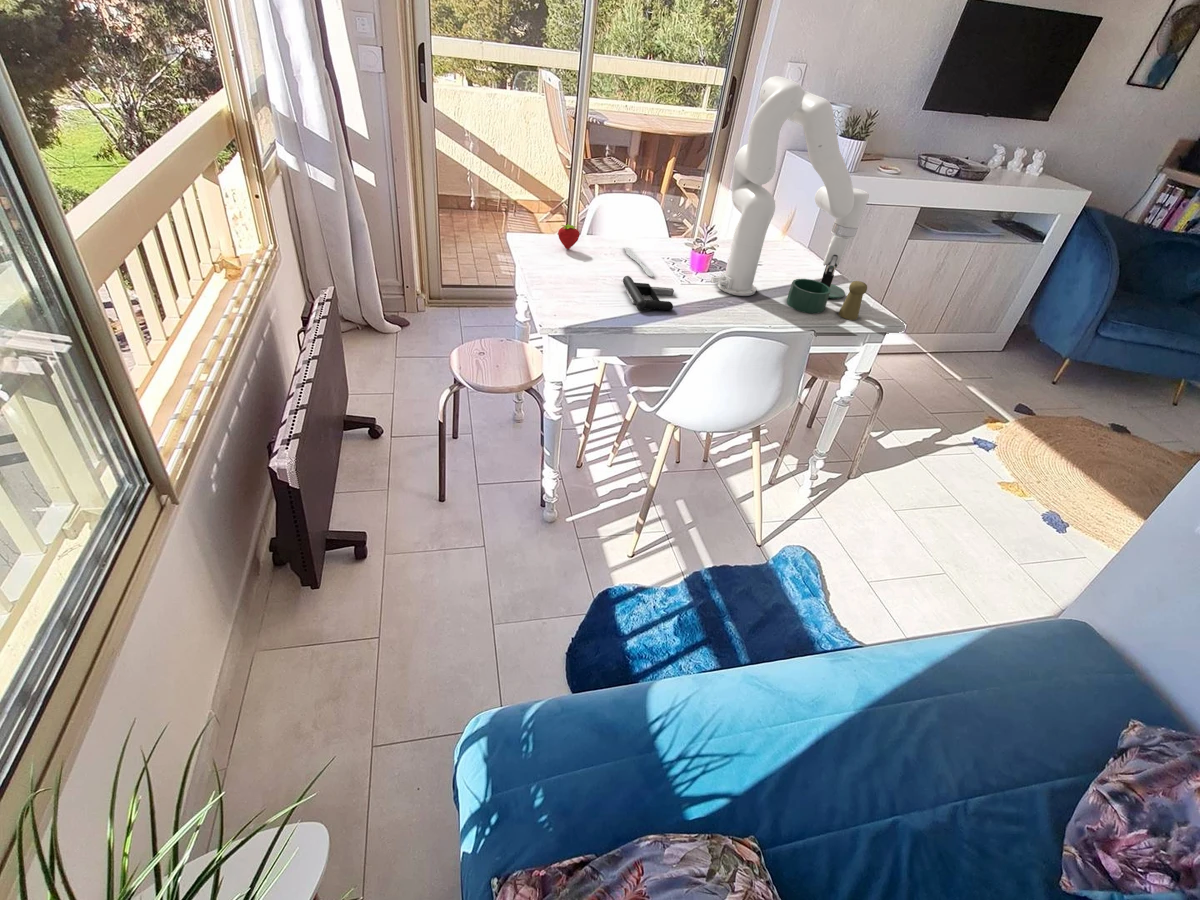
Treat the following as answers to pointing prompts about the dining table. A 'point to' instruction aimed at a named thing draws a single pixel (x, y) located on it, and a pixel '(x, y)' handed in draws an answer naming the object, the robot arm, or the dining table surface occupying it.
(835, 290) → the pot lid
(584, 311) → the dining table surface
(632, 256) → the butter knife
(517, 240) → the dining table surface
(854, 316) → the olive tapered upright piece
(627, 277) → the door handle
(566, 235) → the strawberry
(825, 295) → the pot
